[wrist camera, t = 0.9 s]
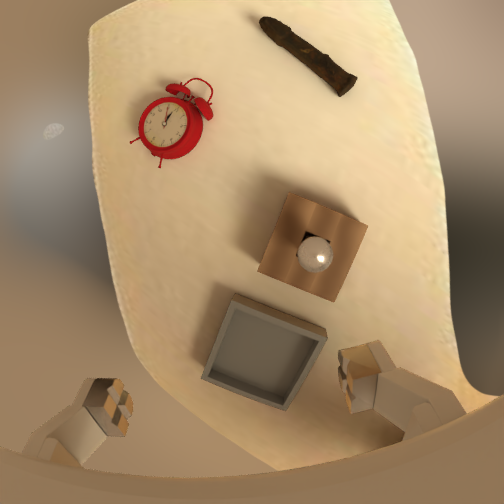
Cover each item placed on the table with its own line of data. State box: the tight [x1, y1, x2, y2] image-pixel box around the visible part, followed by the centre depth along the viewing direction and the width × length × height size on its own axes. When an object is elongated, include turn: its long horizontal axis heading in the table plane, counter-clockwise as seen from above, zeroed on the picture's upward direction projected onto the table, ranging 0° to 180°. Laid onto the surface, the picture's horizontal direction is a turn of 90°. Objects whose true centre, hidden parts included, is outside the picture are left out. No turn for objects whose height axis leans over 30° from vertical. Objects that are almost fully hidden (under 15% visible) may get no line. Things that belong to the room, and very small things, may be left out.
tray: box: [201, 293, 328, 411], centre depth 50 cm, size 16×16×4 cm
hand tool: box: [259, 17, 357, 97], centre depth 40 cm, size 19×4×5 cm, turn 44°
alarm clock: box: [130, 78, 213, 168], centre depth 45 cm, size 10×6×15 cm
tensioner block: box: [257, 192, 368, 302], centre depth 45 cm, size 12×12×5 cm
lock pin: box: [298, 235, 333, 273], centre depth 42 cm, size 4×4×9 cm
